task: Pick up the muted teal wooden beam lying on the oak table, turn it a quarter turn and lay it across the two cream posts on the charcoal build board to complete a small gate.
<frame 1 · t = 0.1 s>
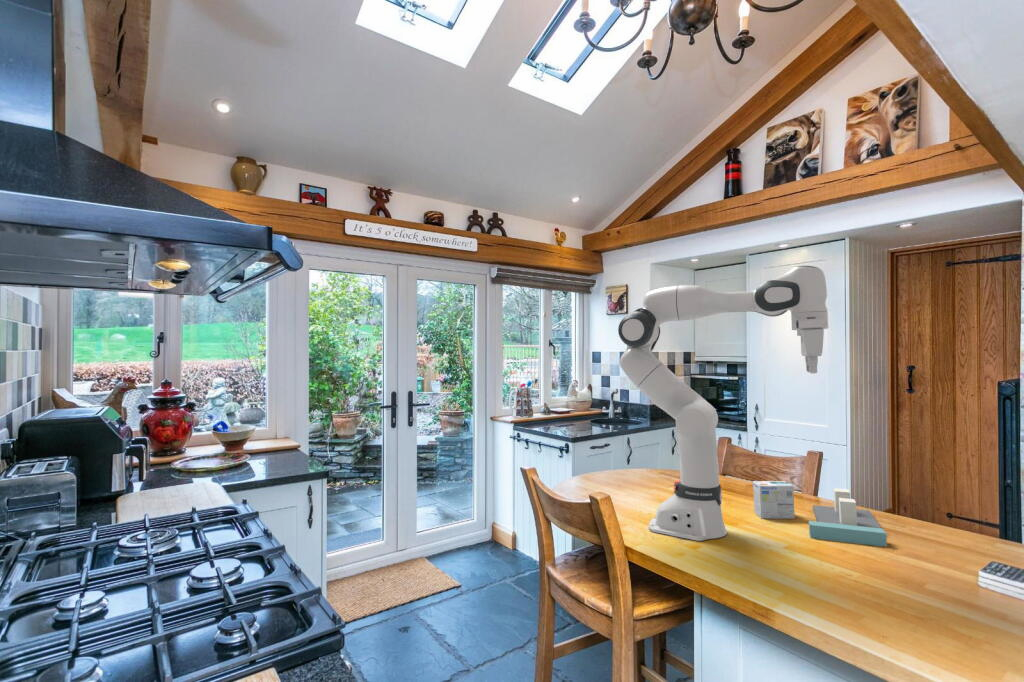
hand: (811, 372, 140), 48 cm above the kitchen island, tool pointing down, fingers open, 8 cm apart
beam: (846, 541, 142), on the kitchen island
board: (845, 521, 157), on the kitchen island
light bulb box: (774, 516, 165), on the kitchen island
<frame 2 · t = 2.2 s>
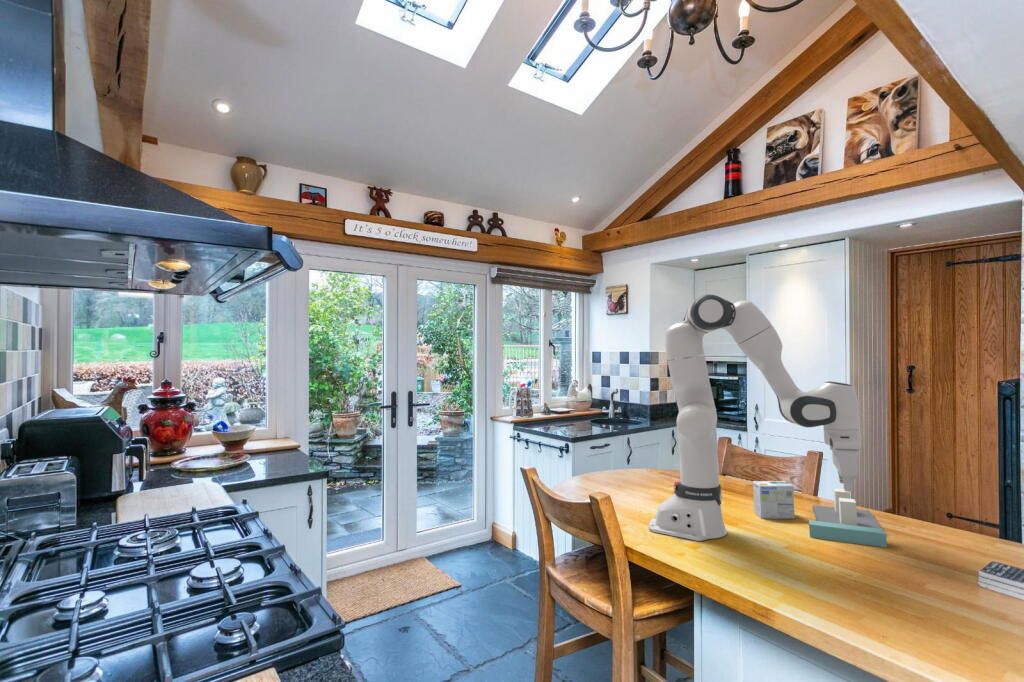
hand: (845, 487, 143), 15 cm above the kitchen island, tool pointing down, fingers open, 8 cm apart
nothing on the kitchen island moved.
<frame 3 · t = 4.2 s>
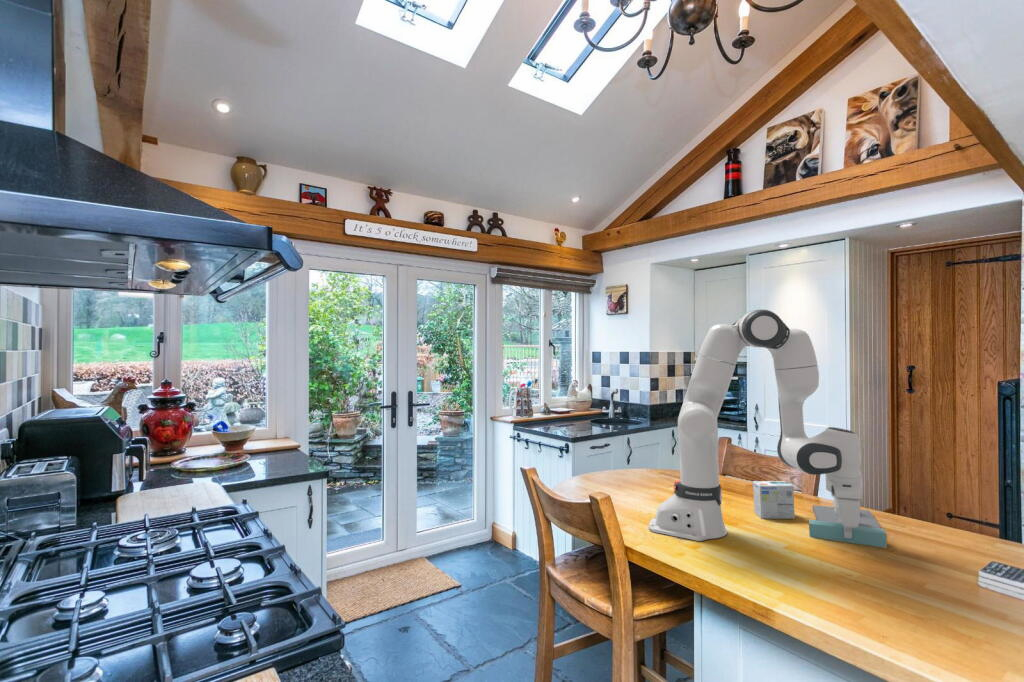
hand: (846, 534, 142), 2 cm above the kitchen island, tool pointing down, fingers closed on beam, 4 cm apart
beam: (846, 540, 142), on the kitchen island, touching gripper
everything else where it was.
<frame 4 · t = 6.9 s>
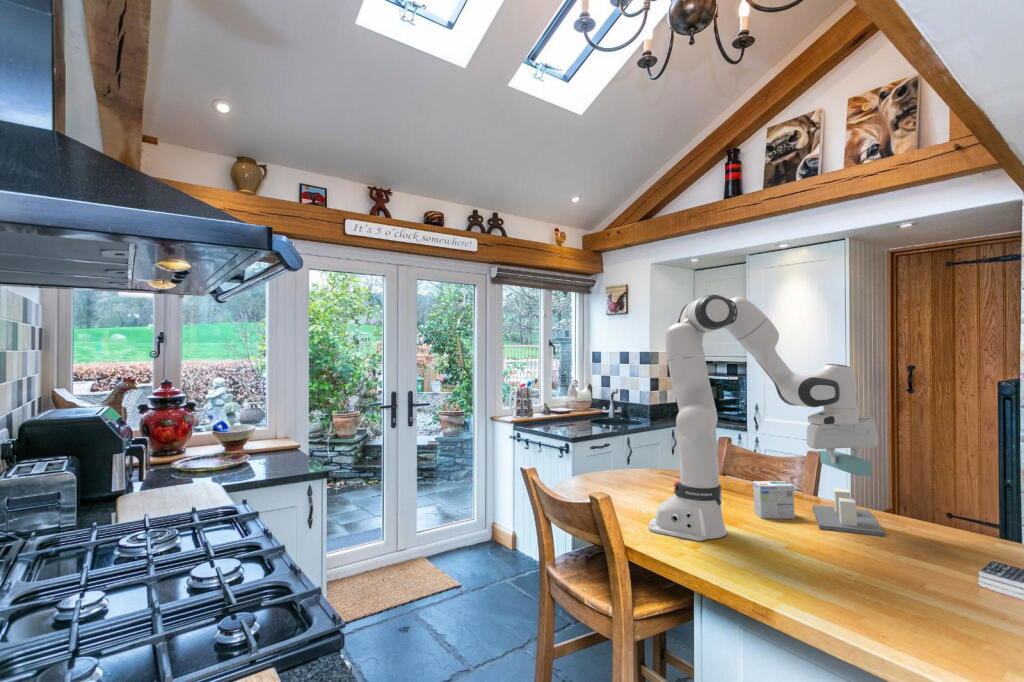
hand: (843, 462, 152), 20 cm above the kitchen island, tool pointing down, fingers closed on beam, 4 cm apart
beam: (844, 468, 152), point 18 cm above the kitchen island, touching gripper
everything else where it was.
when the fingers open (11 cm above the kitchen island, at t = 9.7 s): beam stays where it is, resting on board.
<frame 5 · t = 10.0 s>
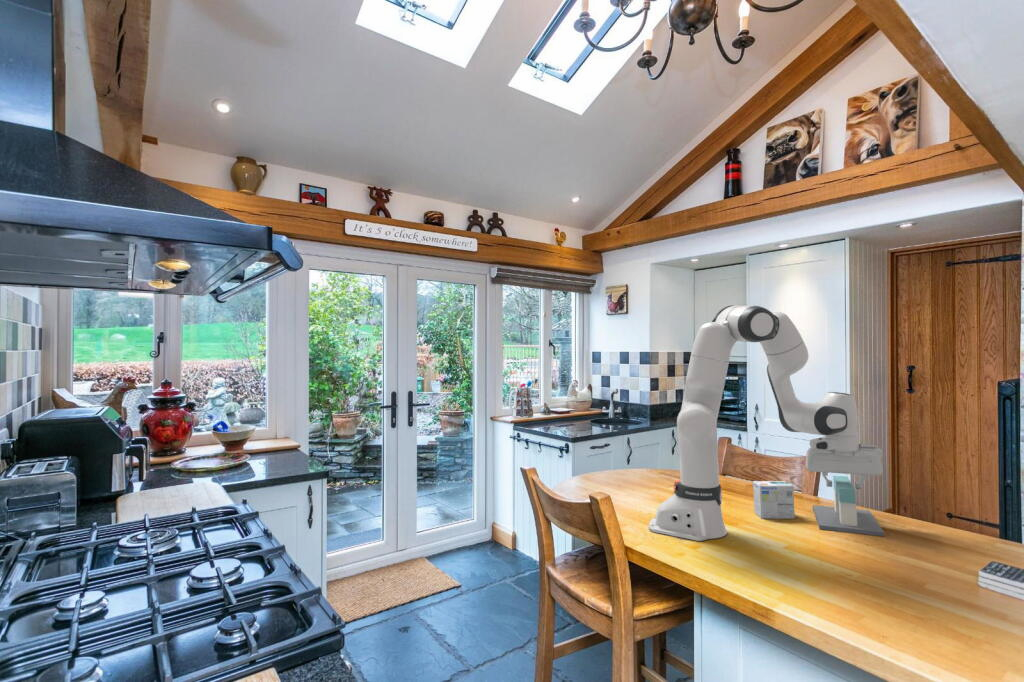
hand: (843, 487, 158), 11 cm above the kitchen island, tool pointing down, fingers open, 6 cm apart
beam: (844, 495, 158), point 8 cm above the kitchen island, touching board
everything else where it was.
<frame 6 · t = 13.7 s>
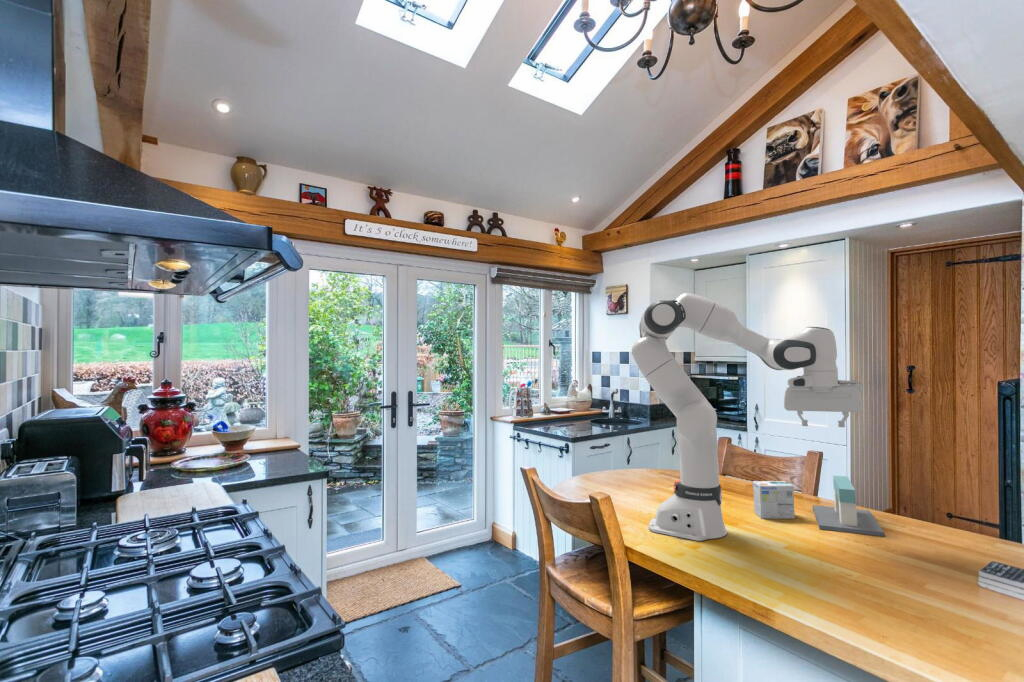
hand: (822, 426, 150), 31 cm above the kitchen island, tool pointing down, fingers open, 8 cm apart
nothing on the kitchen island moved.
at the end: beam 0.2 cm off-centre on the board, point 8.2 cm above the board's base; beam tilted 0°; the gripper is holding nothing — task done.
